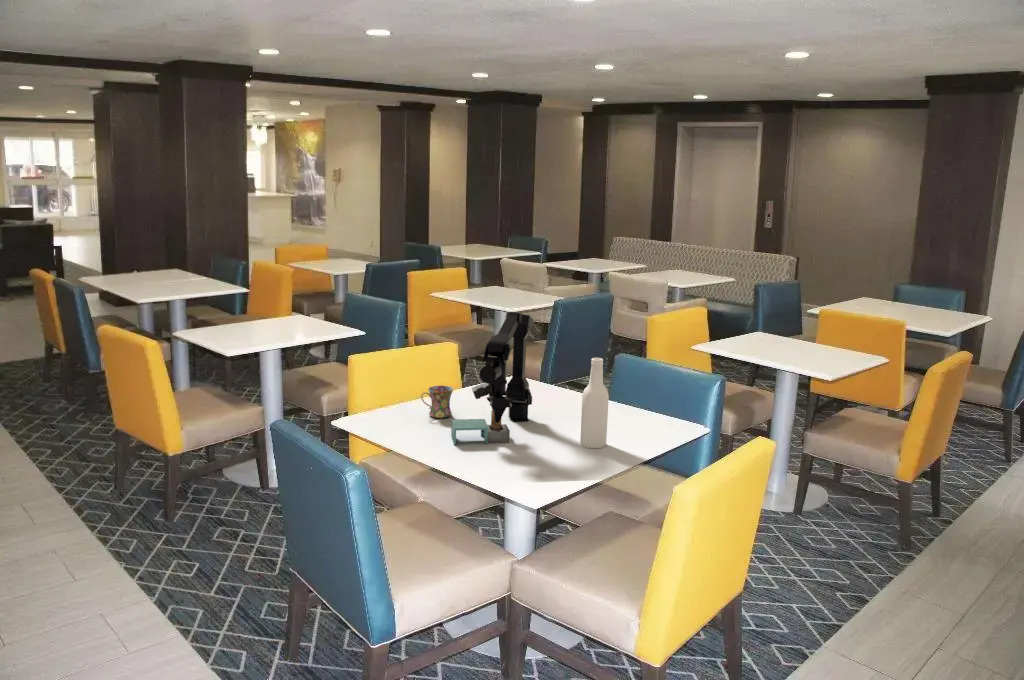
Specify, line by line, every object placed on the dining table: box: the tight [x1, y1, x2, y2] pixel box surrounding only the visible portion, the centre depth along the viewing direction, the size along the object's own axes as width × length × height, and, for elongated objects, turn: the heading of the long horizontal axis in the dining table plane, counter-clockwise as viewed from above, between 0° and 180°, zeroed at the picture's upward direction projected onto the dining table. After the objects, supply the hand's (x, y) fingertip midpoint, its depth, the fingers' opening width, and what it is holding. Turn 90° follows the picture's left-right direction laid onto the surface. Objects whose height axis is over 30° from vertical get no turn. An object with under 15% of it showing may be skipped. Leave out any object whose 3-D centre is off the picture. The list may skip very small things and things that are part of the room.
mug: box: [420, 385, 454, 419], centre depth 309 cm, size 12×9×11 cm
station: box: [450, 418, 511, 446], centre depth 284 cm, size 19×10×6 cm, turn 100°
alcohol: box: [579, 357, 610, 449], centre depth 279 cm, size 9×9×30 cm
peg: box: [490, 409, 502, 430], centre depth 284 cm, size 4×4×8 cm
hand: (496, 420), depth 284 cm, fingers closed on peg, 3 cm apart
